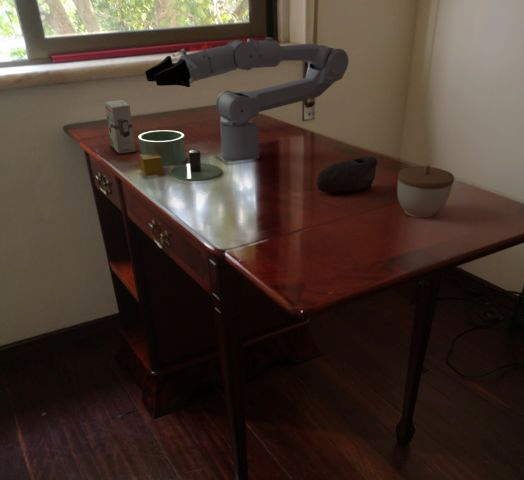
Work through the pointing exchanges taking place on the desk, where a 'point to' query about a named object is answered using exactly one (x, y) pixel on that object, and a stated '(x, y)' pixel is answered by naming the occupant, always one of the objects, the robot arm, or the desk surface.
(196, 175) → the lid
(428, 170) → the trinket box
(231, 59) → the robot arm
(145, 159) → the block
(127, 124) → the ink box
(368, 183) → the perforated stone tool
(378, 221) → the desk surface
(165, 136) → the bowl
